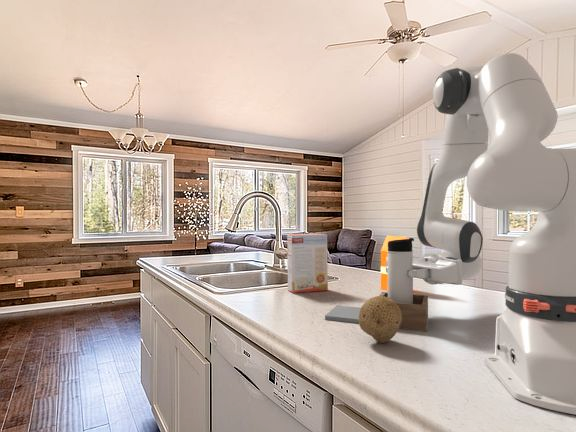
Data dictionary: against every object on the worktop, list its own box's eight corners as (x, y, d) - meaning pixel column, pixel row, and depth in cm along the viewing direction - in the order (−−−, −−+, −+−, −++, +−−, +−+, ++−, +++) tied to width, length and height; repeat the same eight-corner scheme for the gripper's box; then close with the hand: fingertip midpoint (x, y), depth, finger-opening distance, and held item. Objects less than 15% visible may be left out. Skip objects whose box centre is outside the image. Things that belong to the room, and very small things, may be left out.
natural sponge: (380, 353, 70) (380, 303, 70) (349, 340, 78) (349, 294, 78) (410, 344, 75) (410, 297, 75) (379, 333, 83) (379, 290, 83)
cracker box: (321, 287, 136) (321, 233, 136) (328, 290, 130) (328, 233, 130) (286, 290, 131) (286, 233, 132) (292, 293, 126) (292, 234, 126)
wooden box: (426, 331, 84) (426, 306, 84) (374, 325, 89) (374, 301, 89) (427, 318, 95) (427, 295, 95) (382, 313, 100) (382, 291, 100)
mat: (366, 324, 89) (366, 320, 89) (324, 319, 94) (324, 315, 94) (374, 312, 100) (374, 309, 100) (337, 308, 105) (337, 305, 105)
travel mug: (416, 318, 89) (415, 238, 89) (388, 317, 90) (388, 238, 90) (412, 312, 95) (412, 237, 95) (387, 311, 96) (386, 237, 96)
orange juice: (392, 286, 139) (392, 235, 139) (412, 290, 132) (412, 236, 132) (380, 289, 134) (380, 235, 134) (401, 292, 127) (401, 237, 127)
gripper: (406, 253, 108) (370, 255, 101) (467, 260, 90) (429, 264, 83) (406, 274, 108) (371, 277, 101) (467, 285, 90) (429, 290, 83)
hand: (397, 271), depth 92 cm, fingers closed on travel mug, 6 cm apart
